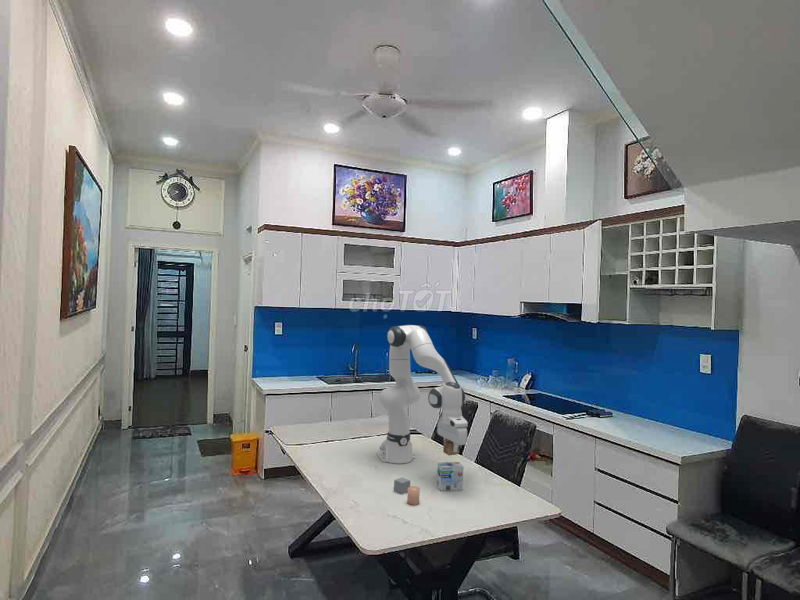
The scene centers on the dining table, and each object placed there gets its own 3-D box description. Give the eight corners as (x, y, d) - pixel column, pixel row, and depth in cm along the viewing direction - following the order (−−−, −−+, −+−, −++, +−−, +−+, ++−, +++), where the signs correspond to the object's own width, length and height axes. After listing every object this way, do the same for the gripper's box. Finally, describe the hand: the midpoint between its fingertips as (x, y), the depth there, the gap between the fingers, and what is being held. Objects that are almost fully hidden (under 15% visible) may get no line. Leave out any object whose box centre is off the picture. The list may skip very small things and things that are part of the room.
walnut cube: (443, 452, 230) (443, 441, 230) (452, 451, 232) (453, 440, 232) (449, 455, 225) (449, 444, 225) (458, 454, 227) (458, 443, 227)
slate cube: (393, 491, 223) (394, 479, 223) (401, 488, 226) (402, 477, 226) (402, 494, 219) (402, 483, 219) (409, 491, 223) (410, 480, 223)
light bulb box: (440, 491, 224) (441, 467, 224) (436, 485, 231) (436, 462, 231) (463, 490, 226) (464, 466, 226) (458, 484, 233) (459, 461, 233)
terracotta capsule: (405, 501, 212) (405, 487, 212) (415, 499, 214) (416, 485, 214) (410, 506, 207) (411, 491, 207) (421, 504, 209) (421, 489, 209)
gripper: (434, 414, 236) (433, 444, 236) (457, 424, 218) (456, 456, 218) (446, 413, 239) (445, 442, 239) (470, 423, 221) (469, 455, 221)
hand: (451, 449), depth 228 cm, fingers closed on walnut cube, 5 cm apart
